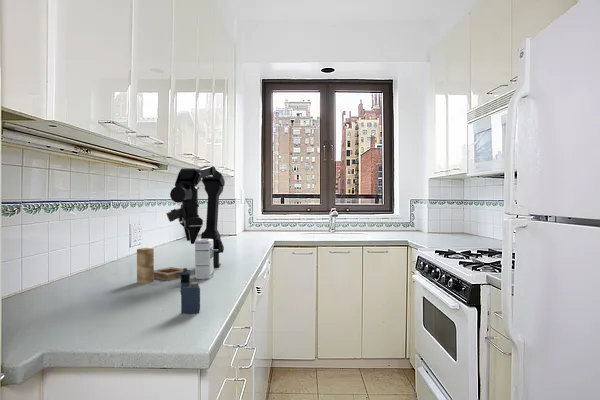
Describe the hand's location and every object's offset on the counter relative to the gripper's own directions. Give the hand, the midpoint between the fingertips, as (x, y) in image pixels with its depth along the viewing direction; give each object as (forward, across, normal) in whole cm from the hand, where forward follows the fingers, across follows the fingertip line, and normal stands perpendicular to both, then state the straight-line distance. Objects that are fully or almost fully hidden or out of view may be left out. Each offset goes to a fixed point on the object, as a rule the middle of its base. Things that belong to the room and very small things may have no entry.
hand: (190, 242), depth 152 cm
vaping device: (+13, +46, -8) cm, 48 cm away
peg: (+13, +2, -16) cm, 21 cm away
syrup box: (+14, +3, +5) cm, 15 cm away
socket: (+13, -5, -7) cm, 16 cm away
